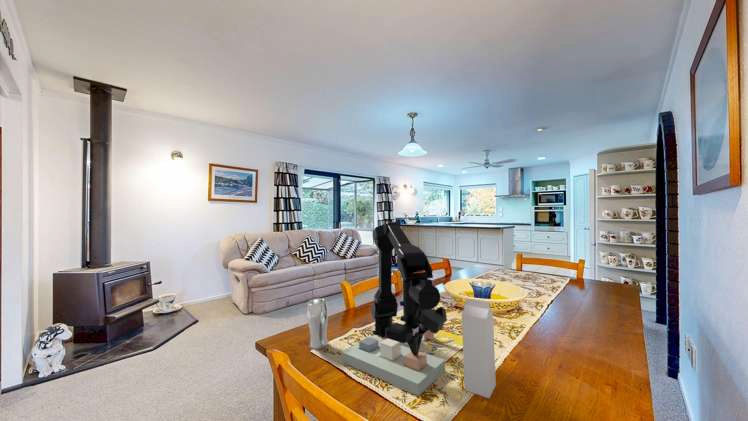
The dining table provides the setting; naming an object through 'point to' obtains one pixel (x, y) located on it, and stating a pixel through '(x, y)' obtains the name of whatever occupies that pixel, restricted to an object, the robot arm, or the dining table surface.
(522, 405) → the dining table surface
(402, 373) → the console
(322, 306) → the beer glass
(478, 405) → the dining table surface
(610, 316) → the dining table surface
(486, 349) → the milk
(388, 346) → the light grey cube
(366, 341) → the slate key
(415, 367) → the terracotta key
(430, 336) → the grandmother figurine
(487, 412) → the dining table surface
